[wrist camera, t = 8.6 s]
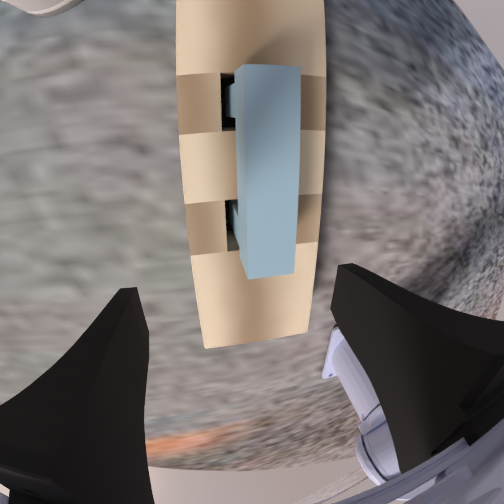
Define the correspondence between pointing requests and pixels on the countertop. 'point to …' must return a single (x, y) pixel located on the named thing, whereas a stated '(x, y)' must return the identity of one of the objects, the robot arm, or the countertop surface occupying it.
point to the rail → (225, 162)
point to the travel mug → (43, 6)
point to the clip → (266, 166)
